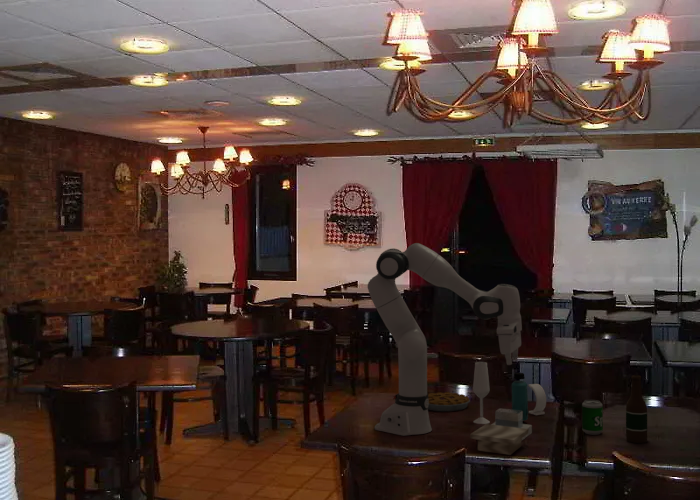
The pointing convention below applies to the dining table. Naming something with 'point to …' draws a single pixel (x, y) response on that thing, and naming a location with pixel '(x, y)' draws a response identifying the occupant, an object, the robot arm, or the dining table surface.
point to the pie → (447, 401)
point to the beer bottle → (636, 414)
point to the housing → (509, 418)
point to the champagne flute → (481, 387)
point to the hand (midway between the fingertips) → (512, 362)
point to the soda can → (592, 417)
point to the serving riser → (499, 438)
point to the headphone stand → (538, 399)
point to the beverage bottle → (520, 395)
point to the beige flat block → (524, 428)
